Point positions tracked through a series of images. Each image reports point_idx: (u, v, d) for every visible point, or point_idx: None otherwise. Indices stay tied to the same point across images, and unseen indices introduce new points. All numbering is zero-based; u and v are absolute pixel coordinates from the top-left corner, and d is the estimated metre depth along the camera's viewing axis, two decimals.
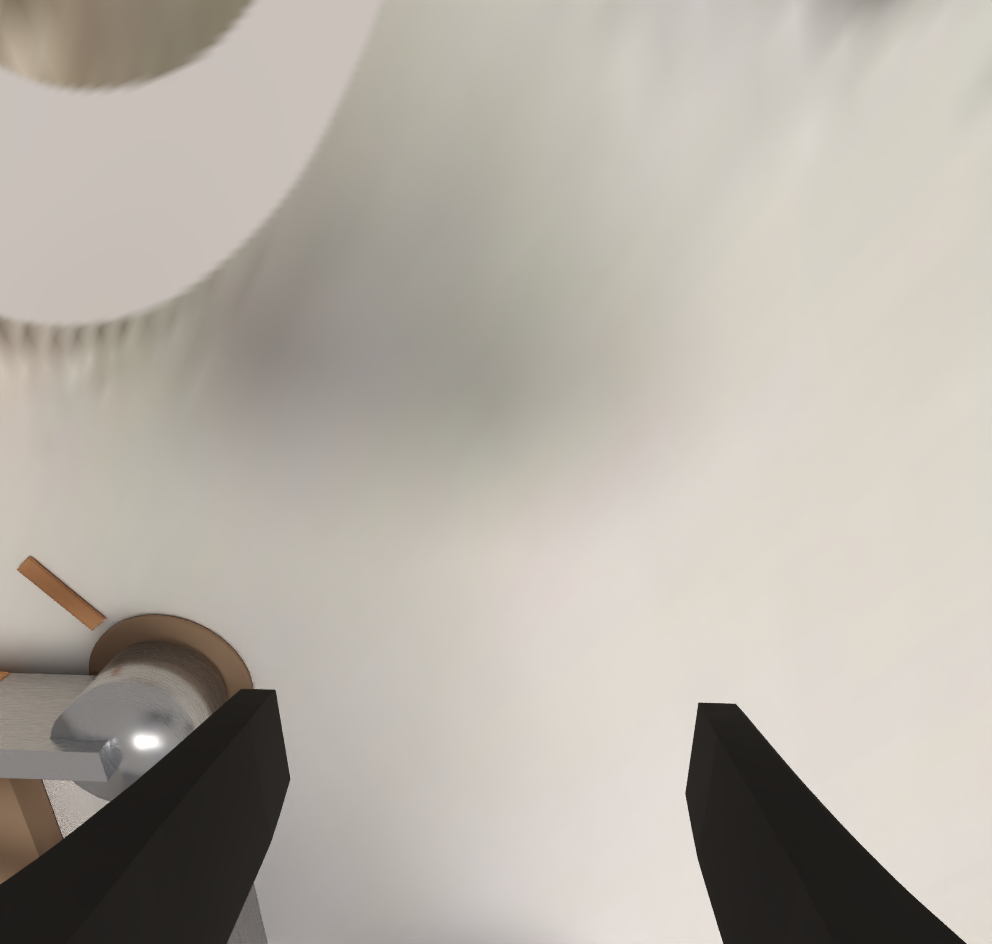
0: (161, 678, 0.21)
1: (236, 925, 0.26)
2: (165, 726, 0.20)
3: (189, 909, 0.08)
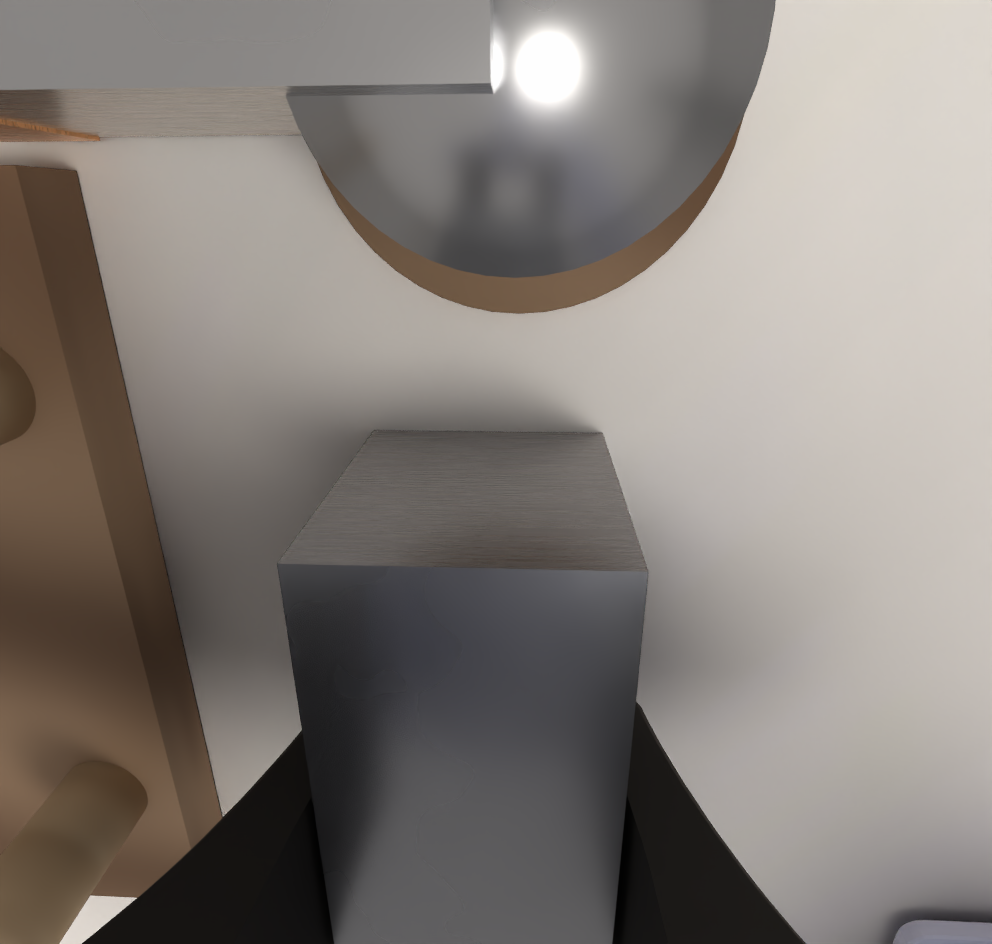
0: None
1: None
2: None
3: (311, 915, 0.08)
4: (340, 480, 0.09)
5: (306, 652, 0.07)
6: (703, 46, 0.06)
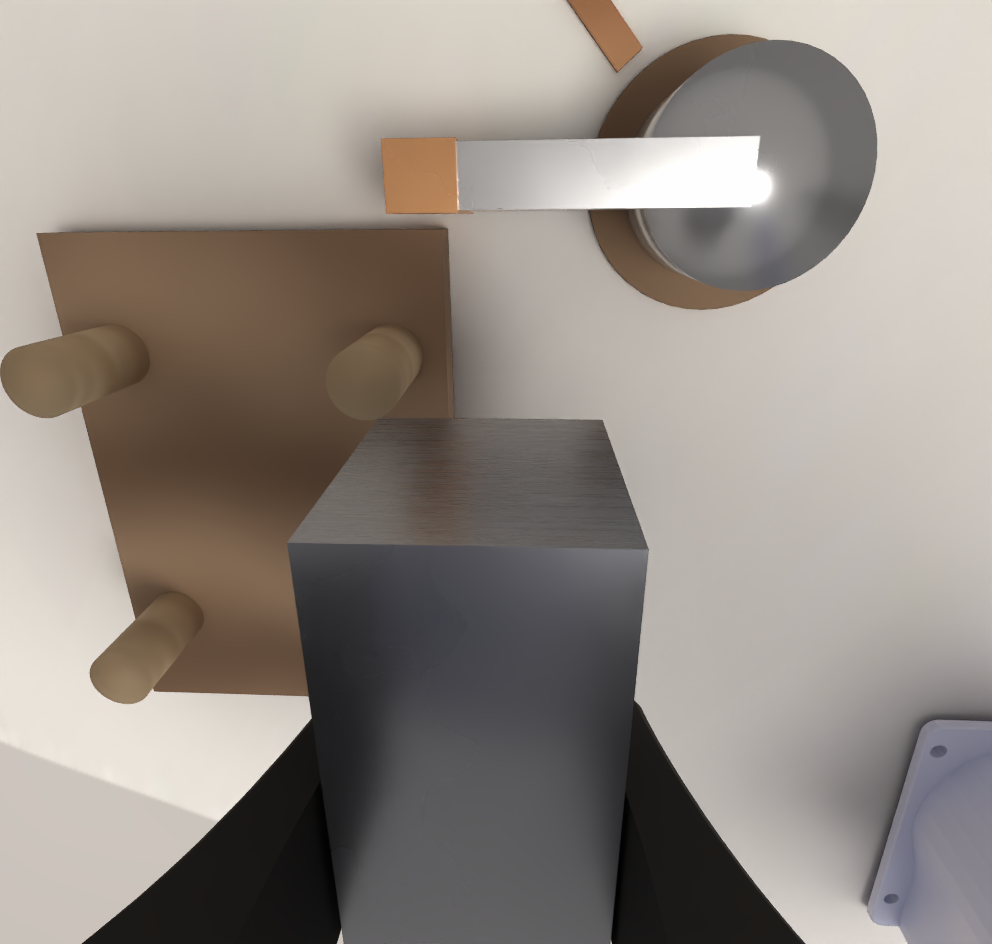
0: None
1: None
2: (866, 98, 0.12)
3: (311, 915, 0.08)
4: (346, 466, 0.09)
5: (315, 630, 0.07)
6: (841, 187, 0.12)
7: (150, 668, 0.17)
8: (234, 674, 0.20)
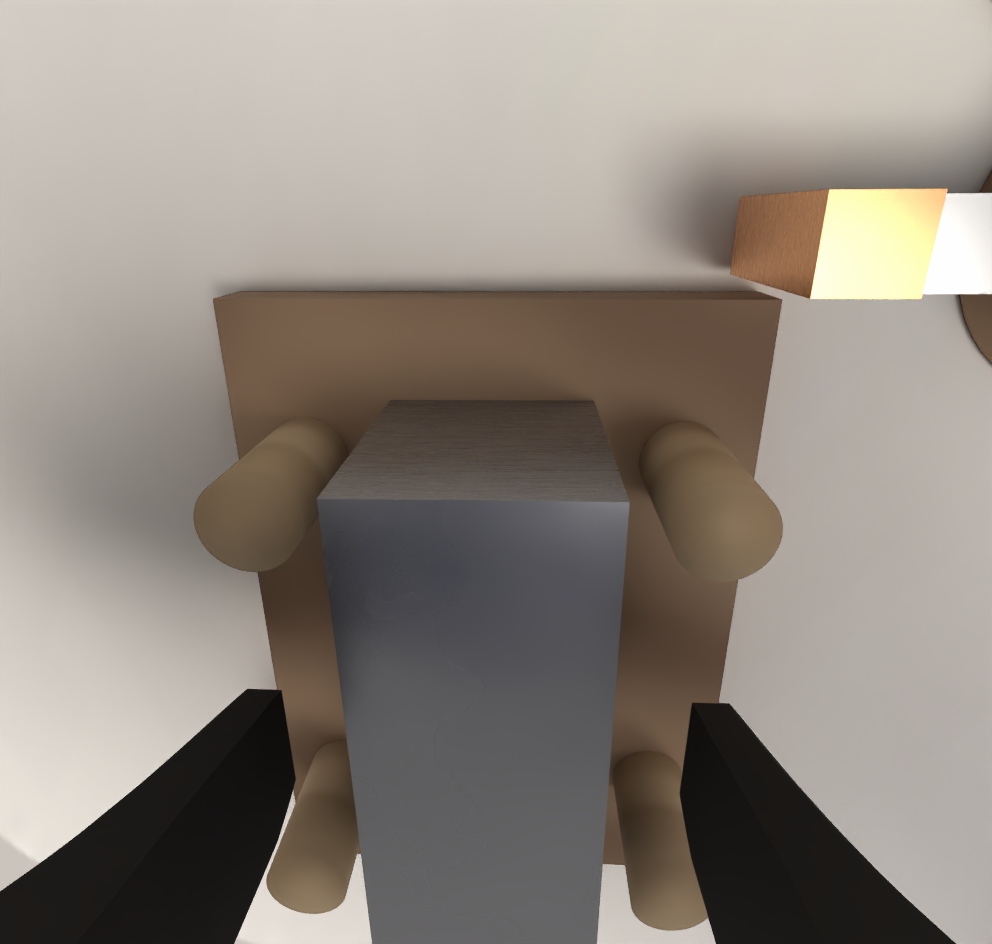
0: None
1: None
2: None
3: (197, 910, 0.08)
4: (363, 439, 0.10)
5: (340, 577, 0.08)
6: None
7: (345, 870, 0.13)
8: None
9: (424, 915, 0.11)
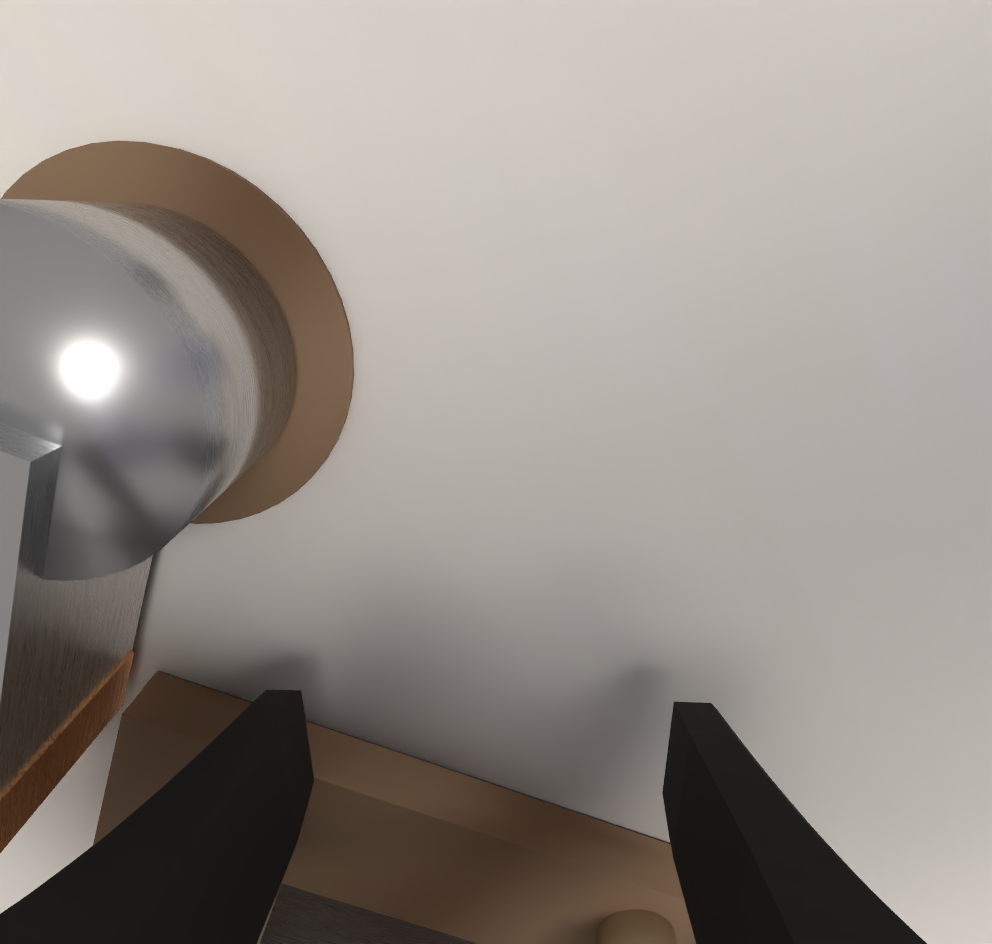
0: None
1: None
2: None
3: (223, 910, 0.08)
4: None
5: None
6: (51, 279, 0.07)
7: None
8: None
9: None
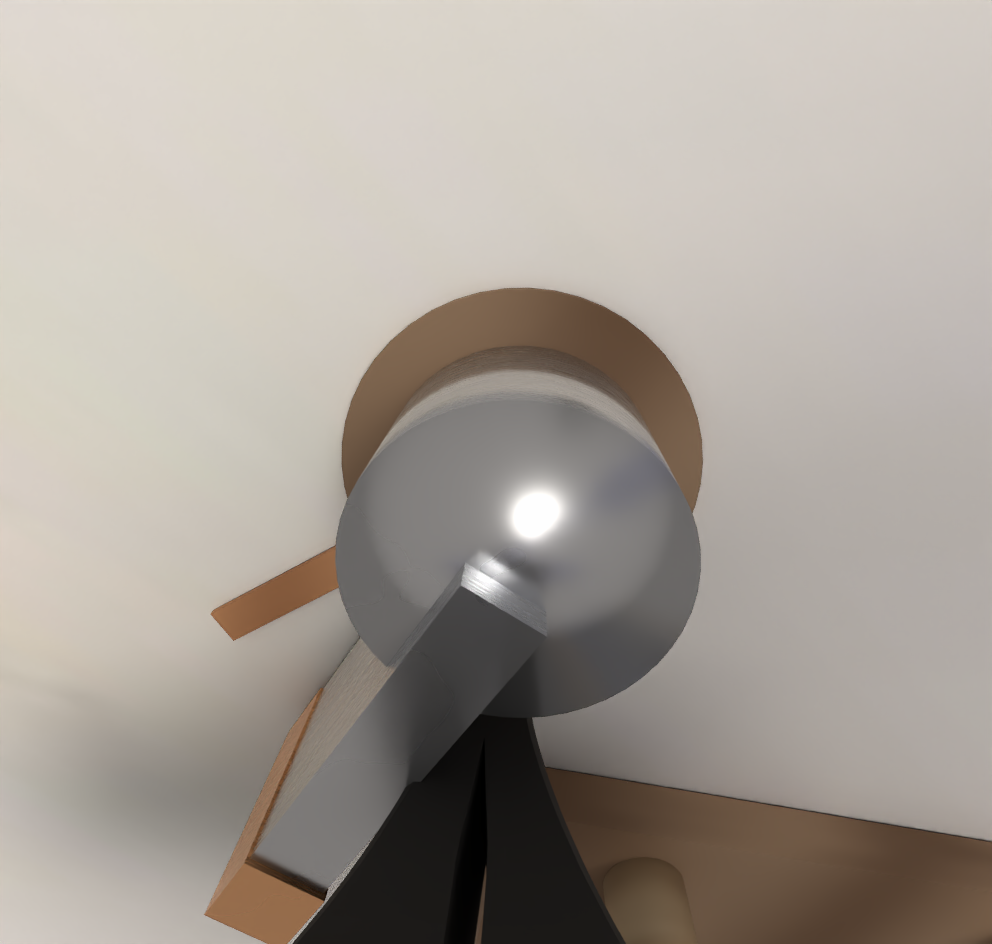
0: (441, 388, 0.08)
1: None
2: (514, 399, 0.07)
3: (464, 921, 0.08)
4: None
5: None
6: (617, 486, 0.07)
7: None
8: None
9: None
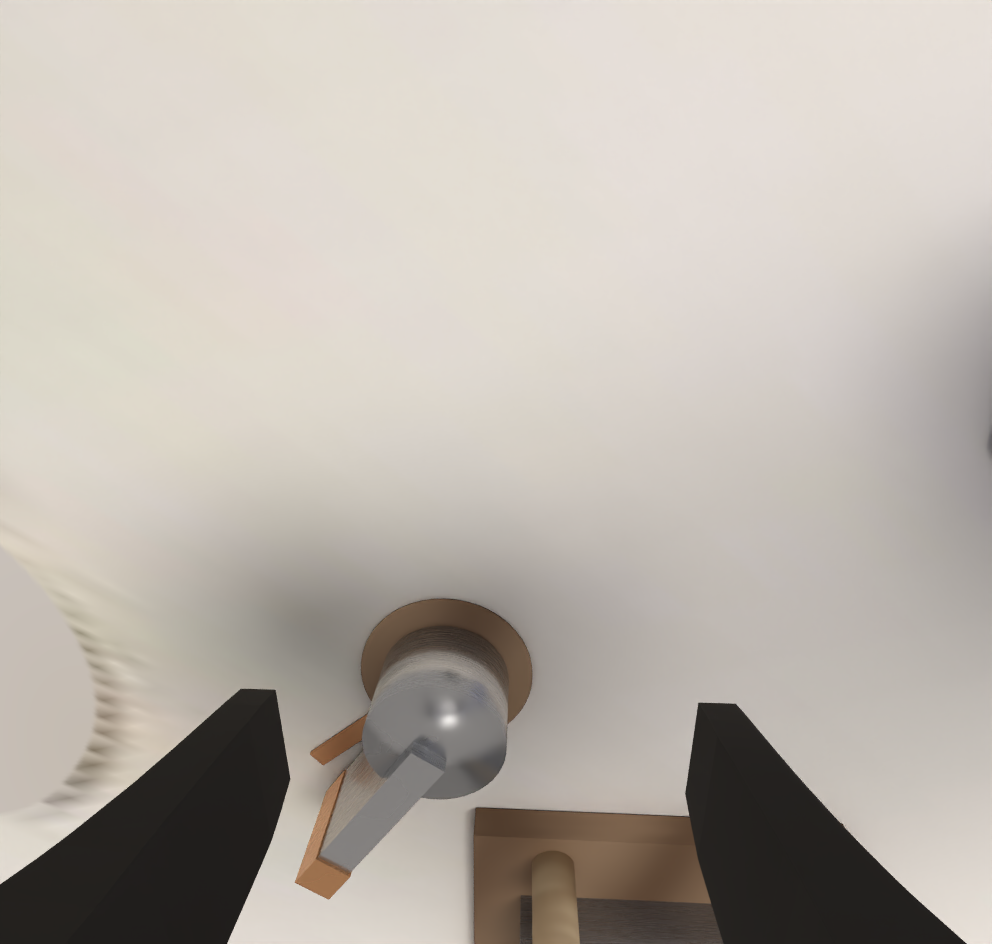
0: (407, 661, 0.20)
1: None
2: (432, 687, 0.19)
3: (190, 908, 0.08)
4: None
5: None
6: (471, 716, 0.19)
7: None
8: None
9: None
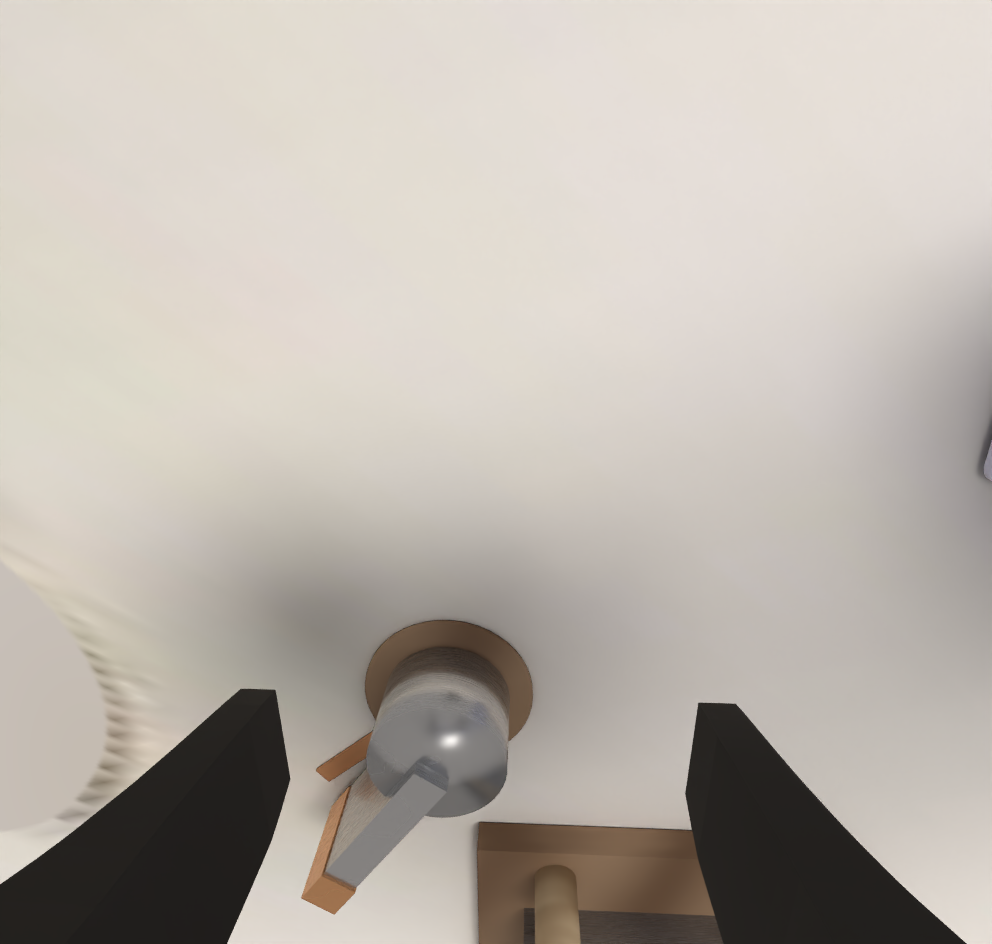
0: (409, 683, 0.20)
1: None
2: (434, 710, 0.19)
3: (190, 908, 0.08)
4: None
5: None
6: (473, 738, 0.19)
7: None
8: None
9: None
